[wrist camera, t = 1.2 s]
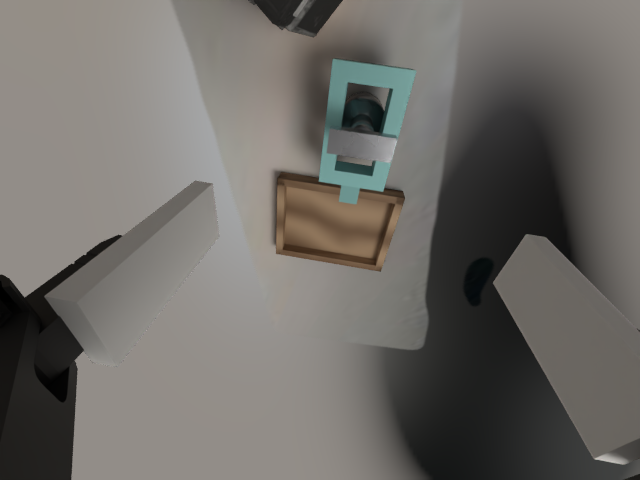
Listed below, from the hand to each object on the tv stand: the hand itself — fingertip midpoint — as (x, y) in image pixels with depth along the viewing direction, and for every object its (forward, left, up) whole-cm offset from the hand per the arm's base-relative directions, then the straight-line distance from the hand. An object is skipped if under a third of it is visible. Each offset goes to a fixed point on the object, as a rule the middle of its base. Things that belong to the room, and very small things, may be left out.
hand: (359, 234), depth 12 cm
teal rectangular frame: (0, 0, -20) cm, 20 cm away
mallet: (0, 0, -25) cm, 25 cm away
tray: (+15, -1, -25) cm, 29 cm away
